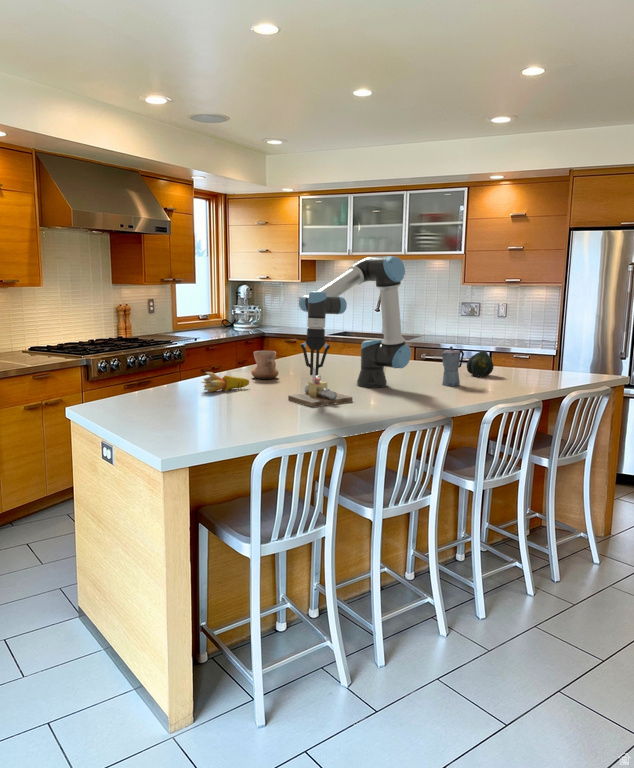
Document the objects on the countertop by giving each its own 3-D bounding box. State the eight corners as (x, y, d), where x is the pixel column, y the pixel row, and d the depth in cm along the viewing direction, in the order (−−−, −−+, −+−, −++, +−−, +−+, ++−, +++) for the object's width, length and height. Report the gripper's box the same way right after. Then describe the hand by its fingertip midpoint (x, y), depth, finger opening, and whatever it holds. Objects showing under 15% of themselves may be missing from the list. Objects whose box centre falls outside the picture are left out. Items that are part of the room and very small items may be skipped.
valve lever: (315, 379, 275) (315, 374, 275) (320, 379, 275) (320, 375, 275) (314, 384, 263) (314, 379, 263) (320, 384, 263) (320, 379, 263)
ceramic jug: (245, 376, 335) (245, 350, 332) (269, 374, 343) (269, 349, 340) (261, 382, 320) (261, 355, 317) (285, 380, 328) (285, 353, 325)
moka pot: (434, 384, 319) (435, 346, 315) (454, 382, 328) (456, 344, 324) (448, 387, 311) (450, 348, 308) (468, 384, 320) (470, 346, 317)
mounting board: (327, 394, 288) (327, 390, 287) (352, 401, 273) (352, 397, 273) (288, 399, 275) (288, 395, 274) (312, 407, 260) (312, 402, 260)
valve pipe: (313, 393, 283) (313, 377, 282) (338, 400, 268) (339, 384, 267) (302, 394, 280) (302, 378, 278) (327, 401, 264) (328, 385, 263)
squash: (461, 367, 346) (480, 347, 341) (462, 364, 360) (481, 346, 355) (479, 385, 344) (499, 365, 339) (480, 381, 358) (499, 363, 354)
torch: (248, 396, 302) (201, 394, 286) (241, 386, 307) (195, 384, 291) (254, 382, 298) (207, 380, 283) (247, 372, 303) (201, 370, 288)
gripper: (300, 328, 259) (298, 383, 263) (331, 329, 259) (328, 385, 262) (301, 326, 266) (299, 380, 270) (331, 328, 266) (328, 382, 270)
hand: (313, 382), depth 266 cm, fingers closed
